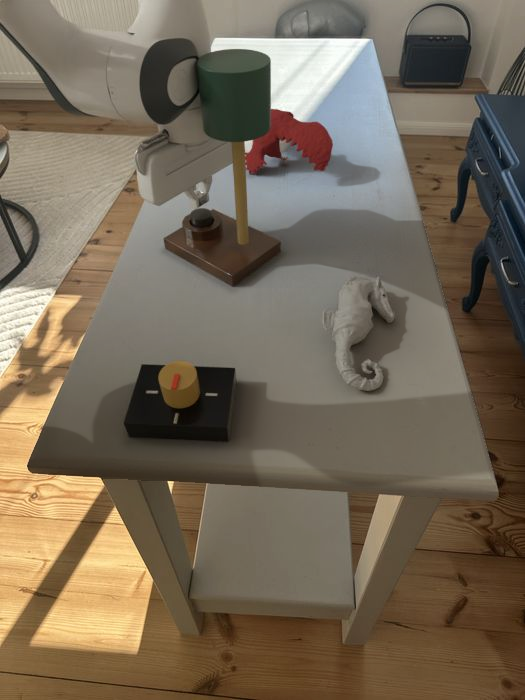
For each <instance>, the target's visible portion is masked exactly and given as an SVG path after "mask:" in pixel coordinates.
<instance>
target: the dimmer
mask: <svg viewBox="0 0 525 700" xmlns="http://www.w3.org/2000/svg"><path fill="white" fill-rule="evenodd" d="M166 365H167V364H148V363H147V364H145V363H141V365H140V369H139V372H138V375H137V378H136V381H135V385H134V387H133V391H132V395H131V396H130V397H131V398H130V401H129V403H128V407H127V410H126V412H125V413H126V414H125V416H124V420H123V425H124V429H125V430H126V433H127V436H128V437H129V438H138V439H141V438H142V439H162V440H181V441H183V440H184V441H203V442H205V441H206V442H225V443H229V442H230V436H231V429H232V420H233V414H234V406H235V398H236V392H237V391H236V390H237V372H236V371H237V370H236V367H224V366H223V367H222V366H198V365H197V366H196V365H193V366H194V367H195V369H196V371H197V377H198V382H199V388H200V396H199V398H198V400H197V401H196V402H195V403H194V404H193V405H191V406H189V407H186V408H173V407H171V406H169V405H168V404H167V403H166V402H165V401H164V398H163V394H162V391H161V387H160V383H159V379H158V376H159V373H160V371H161V369H162V368H163V367H164V366H166Z"/></svg>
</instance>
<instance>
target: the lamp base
mask: <svg viewBox="0 0 525 700" xmlns="http://www.w3.org/2000/svg"><path fill="white" fill-rule="evenodd" d="M209 210H210V211H211V212H212V221H213V223H212V225H210V226H209V227H205V228H196V227H193V226H192V224H191V217H190V213H189V214H187V215H185V216H184V218H183V219H182V221H181V224H182V227H180V228H178V229H177V230H175V231H173V232H171V233H169V234H168V235H165V237H163V244H164V248H165V250H167V251H168V252H170V253H172V254H174V255H176V256H177V257H179V258H181V259H183V260H185V261H186V262H188V263H190V264H191V265H193V266H195V267H197V268H198V269H200V270H202V271H203V272H206V273H207V274H209V275H211V276H213V277H215V278H216V279H218V280H220V281H221V282H223V283H225V284H227V285H229V286H230V287H235V286H236V285H237V284H239V283H240V282H242V281H243V280H244V279H246V278H248V277H249V276H251V274H253V273H254V272H256V271H257V270H259V268H261V267H262V266H264V265H266V263H268V262H269V261H271V260H272V259H274V258H275V257H276V256H277V255H279V254H280V253H281V252H282V240H279V239H277V238H275V237H273V236H271V235H269V234H267V233H264V232H263V231H261V230H259V229H256V228H255V227H252V226H250V225H248V233H249V242H248V243H247V244H245V245H241V244H239V243H238V239H237V224H236V218H233V217H231V216H229V215H227V214H225V213H223V212H221V211H218V210H216V209H214V208H212V209H209Z"/></svg>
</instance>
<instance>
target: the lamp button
mask: <svg viewBox="0 0 525 700" xmlns="http://www.w3.org/2000/svg"><path fill="white" fill-rule="evenodd" d="M210 210H211V209H208V208H206V207H199V208H197V209H195V208H194V209H193V210H192V211H191V212H190V213H189V214H190V217H191V224H192V226H193V227H196V228H205V227H209V226H210V225H212V223H213V221H212V212H211V211H210Z"/></svg>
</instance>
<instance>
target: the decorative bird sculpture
mask: <svg viewBox="0 0 525 700" xmlns="http://www.w3.org/2000/svg"><path fill="white" fill-rule="evenodd" d="M294 116H295V115H294V113H293V112H291V111H288V110H281V109H278V108H271V129H270V131H269V132H268V133H267V134H266V135H264V136H262V137H260V138H258V139H254V140H252V145H251V148H250V150H249V152H245V164H246V171H248V174H249V175H252V174H254V175H257V172H260V168H261V169H262V170H263V169H264V165H265V166H267V165H268V163H267V162H266V161H265V156H267V157H270V158H273V159H275V158H276V159H282V160H283V162H286V161H287V160H289V159H290V158H289V157H288V156H286V157H285V156H284V157H283V156H282V152H281V143H280V141H281V142H284V141H285V143H286V144H288V143H290V147H293V146H296V145H297V146H296V149H295V151H296V152H302V153H301V159H304V160H305V159H306V158H308V164H314V166H313V171H320V172H325V170H326V168H327V167H328V165H329V163H330V160H331V155H332V151H333V147H334V142H333V138H332V137H331V136H330V133H329V131H328V129H326V127H325V126H324V125H323V124H321V122H318V121H300V120H298V119H296V118H295V117H294Z"/></svg>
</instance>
